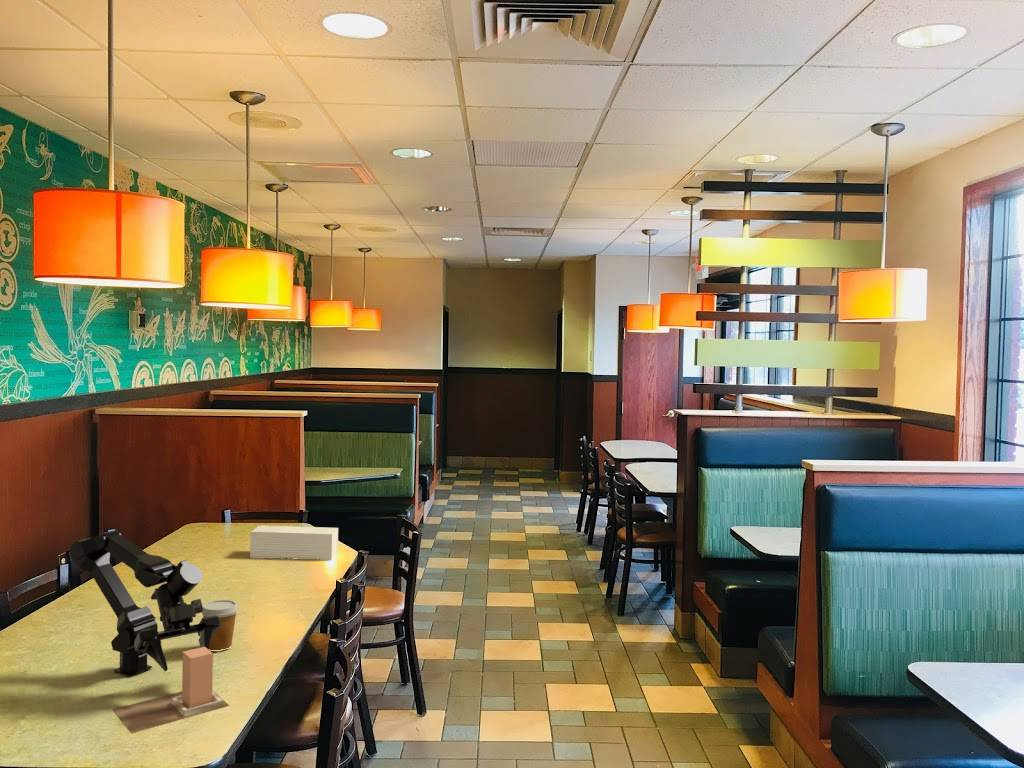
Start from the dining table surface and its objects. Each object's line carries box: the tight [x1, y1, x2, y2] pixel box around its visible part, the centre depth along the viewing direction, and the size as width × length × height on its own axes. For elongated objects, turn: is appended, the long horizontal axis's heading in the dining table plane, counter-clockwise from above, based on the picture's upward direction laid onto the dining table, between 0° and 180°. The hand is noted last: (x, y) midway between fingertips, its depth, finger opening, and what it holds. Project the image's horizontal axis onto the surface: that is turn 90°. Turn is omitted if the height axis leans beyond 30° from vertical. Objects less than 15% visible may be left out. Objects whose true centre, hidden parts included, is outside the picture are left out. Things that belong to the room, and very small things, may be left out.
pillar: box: [181, 647, 214, 709], centre depth 179 cm, size 5×5×12 cm
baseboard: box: [112, 689, 230, 734], centre depth 177 cm, size 14×21×2 cm, turn 132°
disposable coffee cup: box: [201, 599, 239, 650], centre depth 215 cm, size 10×10×12 cm
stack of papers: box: [249, 525, 339, 561], centre depth 312 cm, size 32×11×11 cm, turn 90°
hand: (186, 665), depth 183 cm, fingers open, 9 cm apart
